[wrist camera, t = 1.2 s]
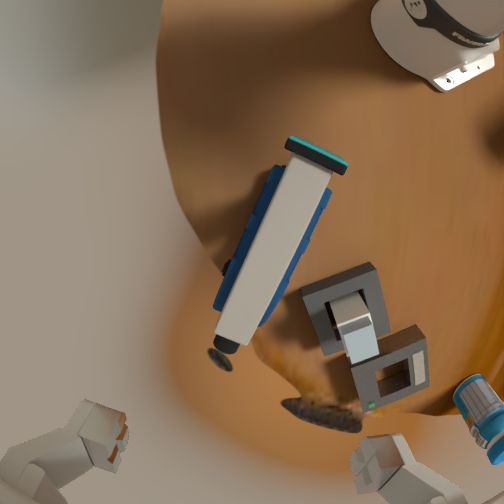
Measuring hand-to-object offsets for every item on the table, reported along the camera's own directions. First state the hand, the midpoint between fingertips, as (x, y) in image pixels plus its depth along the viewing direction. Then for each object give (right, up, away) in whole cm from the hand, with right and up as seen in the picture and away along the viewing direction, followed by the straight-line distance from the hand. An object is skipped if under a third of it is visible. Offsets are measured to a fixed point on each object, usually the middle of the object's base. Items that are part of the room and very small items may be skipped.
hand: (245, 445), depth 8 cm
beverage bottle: (+45, -22, +34) cm, 60 cm away
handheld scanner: (+3, +11, +29) cm, 31 cm away
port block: (+22, -12, +33) cm, 42 cm away
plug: (+13, -1, +31) cm, 34 cm away
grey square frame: (+13, -1, +31) cm, 34 cm away
